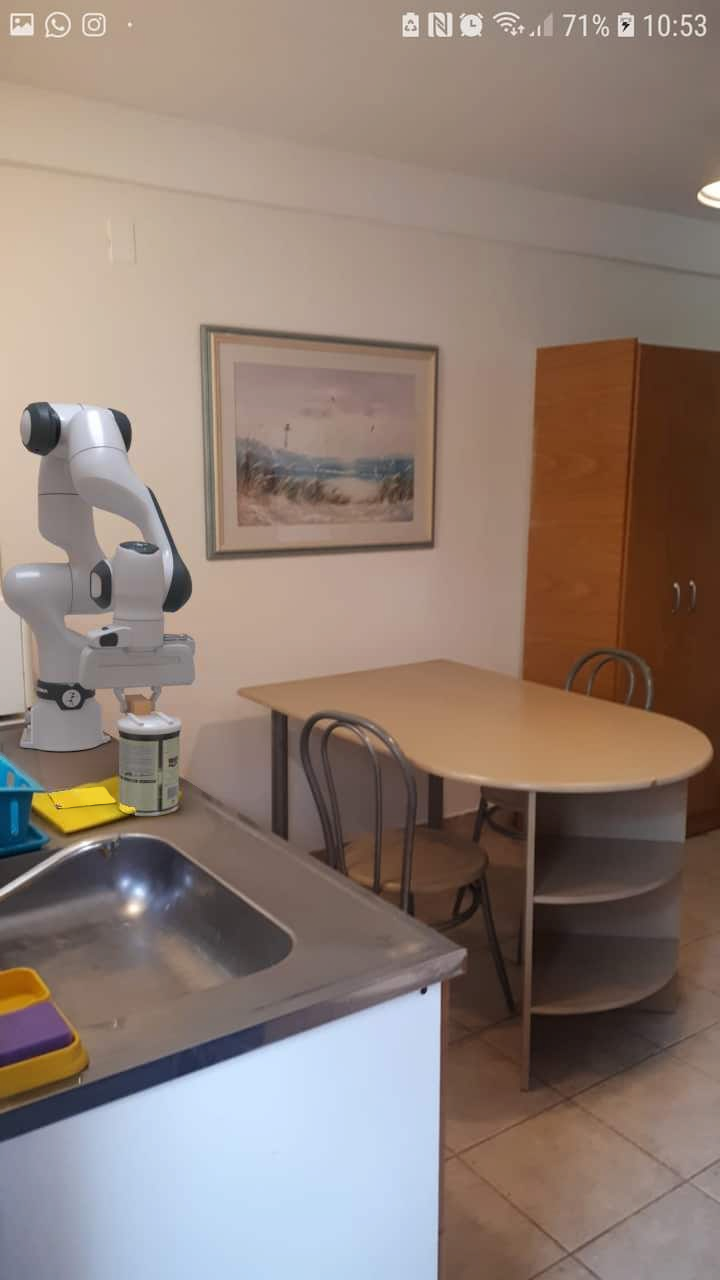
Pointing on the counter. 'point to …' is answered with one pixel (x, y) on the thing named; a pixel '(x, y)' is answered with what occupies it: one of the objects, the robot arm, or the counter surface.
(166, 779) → the coffee can
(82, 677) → the robot arm
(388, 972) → the counter surface
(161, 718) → the lid
